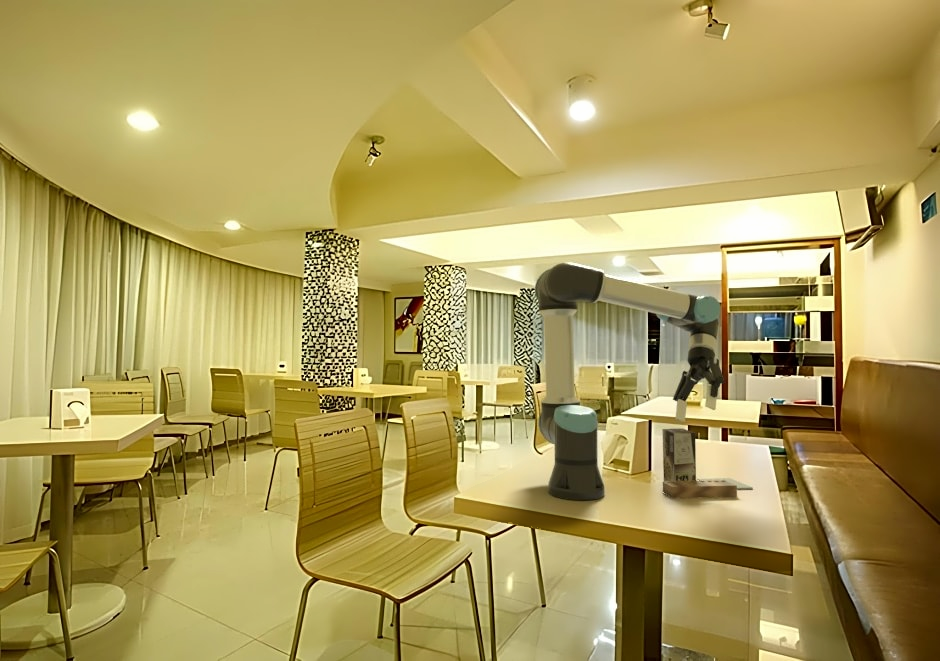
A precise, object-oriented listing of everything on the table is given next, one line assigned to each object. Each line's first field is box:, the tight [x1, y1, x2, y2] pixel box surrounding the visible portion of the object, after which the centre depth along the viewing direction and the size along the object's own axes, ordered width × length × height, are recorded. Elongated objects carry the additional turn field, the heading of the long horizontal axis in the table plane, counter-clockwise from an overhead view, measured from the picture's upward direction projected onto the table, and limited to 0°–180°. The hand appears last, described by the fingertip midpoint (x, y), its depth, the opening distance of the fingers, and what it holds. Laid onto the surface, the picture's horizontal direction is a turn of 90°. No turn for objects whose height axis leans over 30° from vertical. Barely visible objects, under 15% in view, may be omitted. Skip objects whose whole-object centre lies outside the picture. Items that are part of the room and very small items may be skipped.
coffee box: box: [662, 428, 697, 482], centre depth 150 cm, size 9×6×16 cm
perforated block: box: [662, 479, 738, 499], centre depth 141 cm, size 18×6×3 cm, turn 95°
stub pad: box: [696, 477, 753, 490], centre depth 152 cm, size 10×11×1 cm
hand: (694, 414), depth 149 cm, fingers open, 13 cm apart
